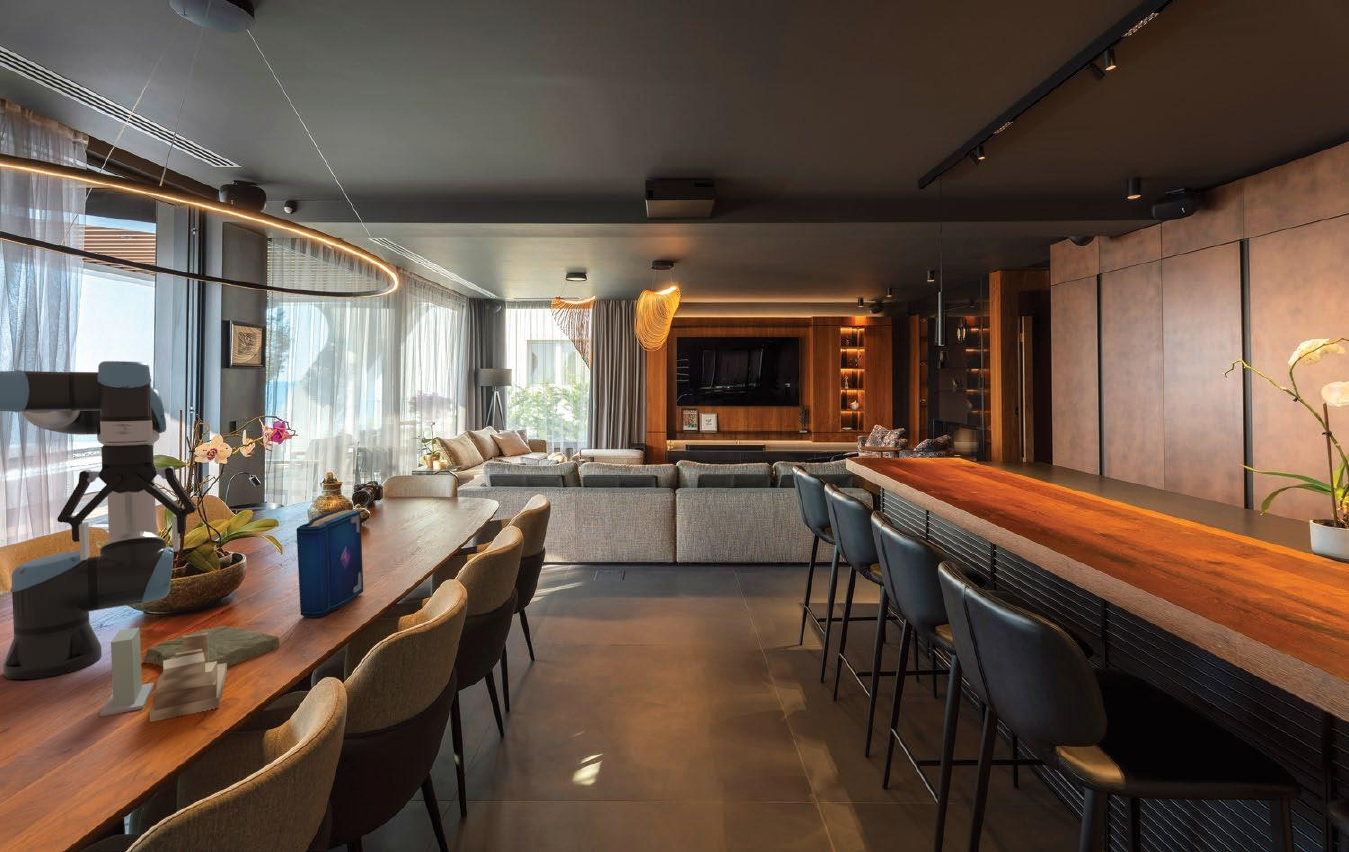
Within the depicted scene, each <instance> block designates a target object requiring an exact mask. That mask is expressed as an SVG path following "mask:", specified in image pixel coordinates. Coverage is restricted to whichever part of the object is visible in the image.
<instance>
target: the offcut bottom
mask: <svg viewBox="0 0 1349 852" xmlns="http://www.w3.org/2000/svg"><path fill="white" fill-rule="evenodd" d="M216 696H217V676H216V678H215V680H214V682H213V684H212V685H207V686H201V687H194V688H188V689H182V690H175V691H169V692H163V693H158V685H157V684H156V688H155V691H154V694H153V702H154V711H155V710H159V709H164V708H169V707H174V706H178V705H183V704H188V703H193V702H197V701H202V700H207V699H212V698H216Z"/></svg>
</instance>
